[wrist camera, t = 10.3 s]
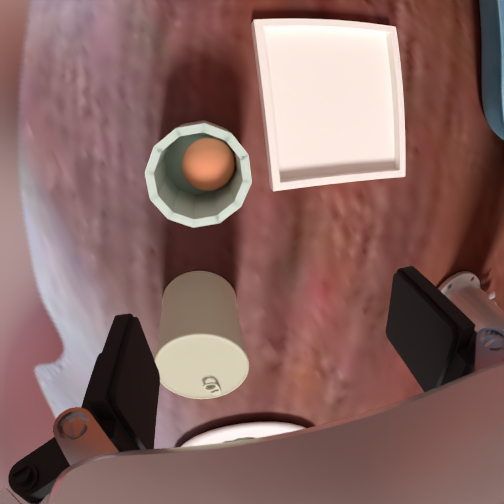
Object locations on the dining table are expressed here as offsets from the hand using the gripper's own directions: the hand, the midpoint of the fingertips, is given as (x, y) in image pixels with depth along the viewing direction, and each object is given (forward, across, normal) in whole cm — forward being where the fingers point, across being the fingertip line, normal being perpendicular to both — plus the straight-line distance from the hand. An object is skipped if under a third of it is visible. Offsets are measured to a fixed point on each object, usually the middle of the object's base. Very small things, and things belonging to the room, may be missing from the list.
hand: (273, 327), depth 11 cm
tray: (+25, -12, -8) cm, 29 cm away
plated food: (+26, +5, +54) cm, 61 cm away
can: (+25, +6, +14) cm, 30 cm away
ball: (+24, +3, -2) cm, 24 cm away
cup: (+25, +3, -2) cm, 25 cm away
